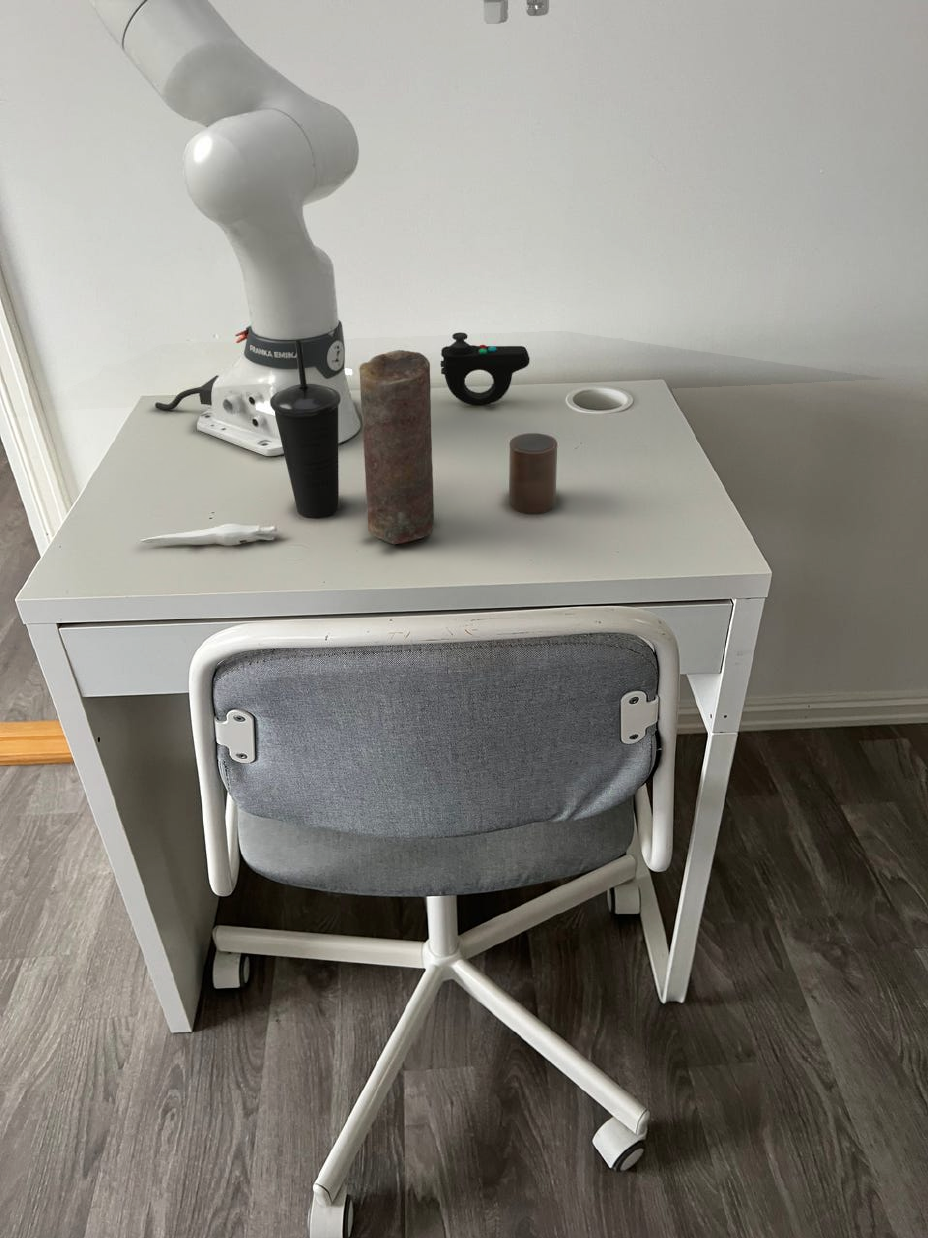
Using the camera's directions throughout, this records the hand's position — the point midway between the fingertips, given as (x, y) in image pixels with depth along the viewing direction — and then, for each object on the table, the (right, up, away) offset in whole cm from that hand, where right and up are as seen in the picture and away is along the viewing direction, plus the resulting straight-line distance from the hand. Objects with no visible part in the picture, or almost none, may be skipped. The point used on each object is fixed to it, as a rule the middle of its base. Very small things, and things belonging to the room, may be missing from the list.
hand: (517, 19), depth 93 cm
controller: (-2, -27, +46) cm, 53 cm away
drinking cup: (-22, -45, +21) cm, 54 cm away
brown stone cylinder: (-12, -48, +16) cm, 52 cm away
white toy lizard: (-33, -49, +15) cm, 61 cm away
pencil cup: (+3, -44, +21) cm, 49 cm away
